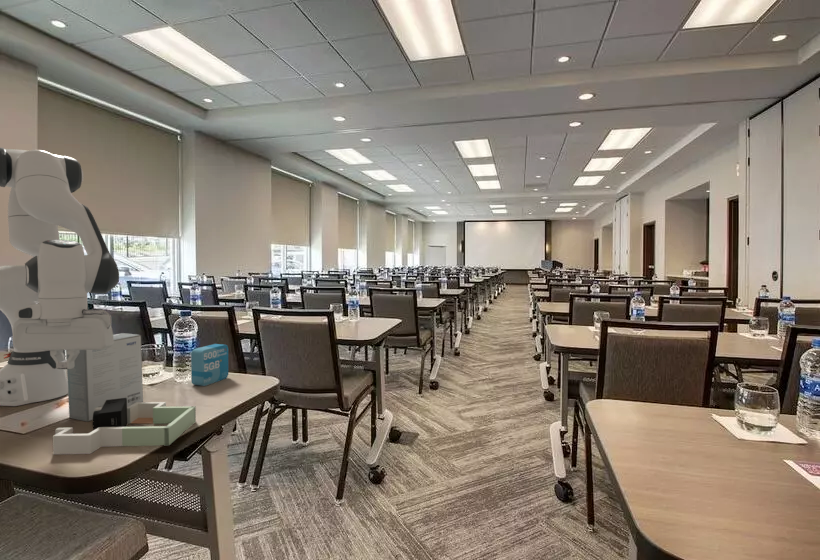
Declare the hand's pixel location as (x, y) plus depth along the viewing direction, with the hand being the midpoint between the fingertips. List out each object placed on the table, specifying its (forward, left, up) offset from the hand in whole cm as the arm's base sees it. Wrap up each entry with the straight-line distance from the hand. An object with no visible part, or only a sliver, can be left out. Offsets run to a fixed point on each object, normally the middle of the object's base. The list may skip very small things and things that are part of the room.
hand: (65, 368), depth 100 cm
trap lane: (+14, 0, -16) cm, 21 cm away
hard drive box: (-1, +16, -16) cm, 23 cm away
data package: (+16, +43, -16) cm, 49 cm away
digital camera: (+10, 0, -16) cm, 19 cm away
